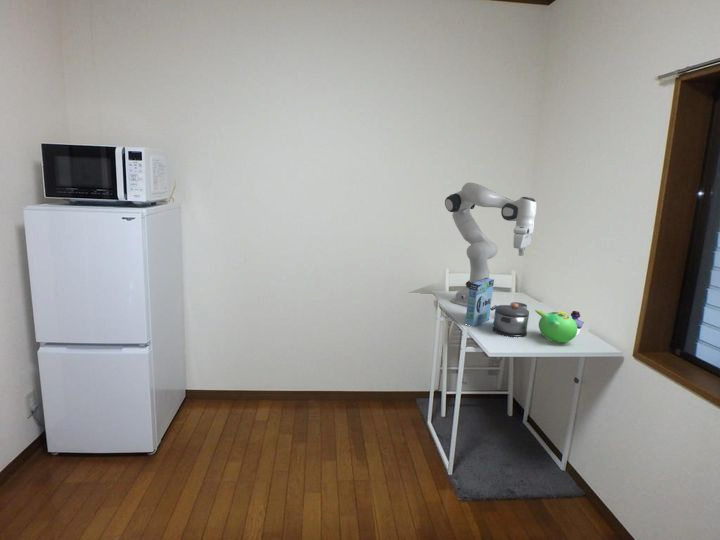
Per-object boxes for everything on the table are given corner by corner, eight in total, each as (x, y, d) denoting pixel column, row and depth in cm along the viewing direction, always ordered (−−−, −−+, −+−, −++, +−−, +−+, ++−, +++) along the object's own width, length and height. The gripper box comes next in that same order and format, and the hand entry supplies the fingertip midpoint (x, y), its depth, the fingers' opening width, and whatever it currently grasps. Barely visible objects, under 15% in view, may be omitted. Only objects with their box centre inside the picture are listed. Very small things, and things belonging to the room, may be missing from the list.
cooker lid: (486, 312, 221) (487, 304, 220) (497, 306, 234) (497, 298, 233) (523, 320, 211) (524, 312, 210) (532, 313, 224) (533, 305, 223)
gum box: (481, 317, 245) (485, 277, 240) (489, 320, 242) (494, 279, 237) (464, 325, 230) (469, 282, 226) (473, 327, 227) (478, 284, 223)
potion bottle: (559, 332, 228) (563, 309, 225) (570, 330, 232) (573, 308, 230) (574, 337, 221) (578, 314, 218) (585, 335, 225) (589, 312, 222)
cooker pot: (486, 333, 220) (488, 313, 218) (499, 323, 237) (501, 305, 235) (520, 341, 210) (523, 321, 208) (531, 330, 228) (534, 312, 226)
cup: (508, 322, 238) (510, 305, 236) (508, 318, 246) (510, 301, 244) (524, 325, 236) (527, 307, 234) (524, 321, 243) (527, 303, 241)
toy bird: (582, 346, 208) (587, 316, 206) (553, 348, 204) (557, 318, 201) (556, 333, 225) (560, 305, 222) (528, 335, 220) (532, 306, 218)
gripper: (523, 227, 237) (520, 252, 240) (512, 229, 221) (509, 256, 223) (535, 228, 234) (532, 254, 237) (525, 231, 217) (521, 258, 220)
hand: (520, 255), depth 230 cm, fingers closed
